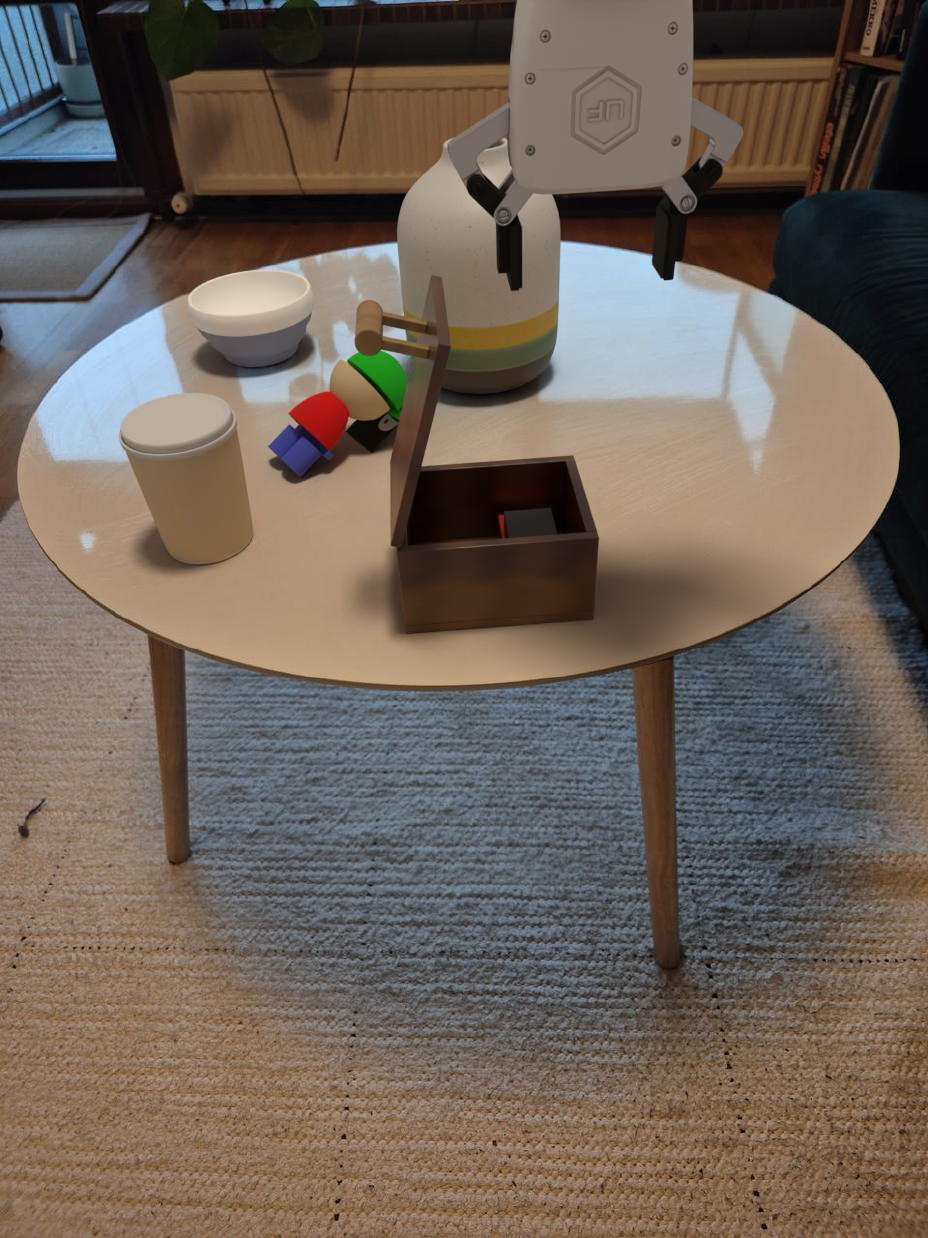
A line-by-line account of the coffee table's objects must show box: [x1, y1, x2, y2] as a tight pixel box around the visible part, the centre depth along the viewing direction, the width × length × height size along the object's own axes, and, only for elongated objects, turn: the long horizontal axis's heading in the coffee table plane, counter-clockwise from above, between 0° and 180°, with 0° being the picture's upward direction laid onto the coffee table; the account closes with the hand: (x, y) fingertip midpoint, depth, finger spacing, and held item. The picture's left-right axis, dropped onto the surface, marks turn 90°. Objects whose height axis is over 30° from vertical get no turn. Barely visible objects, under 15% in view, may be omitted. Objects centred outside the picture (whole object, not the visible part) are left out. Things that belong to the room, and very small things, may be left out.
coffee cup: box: [118, 392, 254, 565], centre depth 75 cm, size 9×9×12 cm
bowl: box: [187, 269, 315, 368], centre depth 106 cm, size 14×14×8 cm
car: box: [498, 508, 557, 539], centre depth 71 cm, size 8×5×5 cm, turn 4°
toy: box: [267, 350, 408, 478], centre depth 88 cm, size 8×8×15 cm
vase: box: [396, 137, 562, 395], centre depth 94 cm, size 17×17×24 cm
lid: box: [354, 275, 451, 548], centre depth 62 cm, size 15×12×6 cm
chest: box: [396, 454, 600, 634], centre depth 71 cm, size 15×12×8 cm
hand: (588, 277), depth 57 cm, fingers open, 9 cm apart
